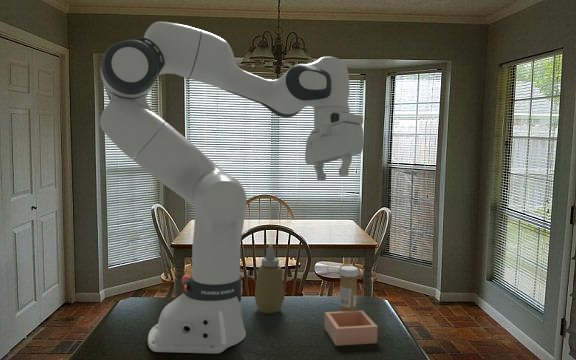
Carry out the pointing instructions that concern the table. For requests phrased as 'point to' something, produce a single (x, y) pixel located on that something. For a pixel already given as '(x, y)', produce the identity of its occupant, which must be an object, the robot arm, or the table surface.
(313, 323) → the table surface
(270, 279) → the squeeze bottle
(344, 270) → the sprinkles bottle
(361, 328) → the terracotta socket
